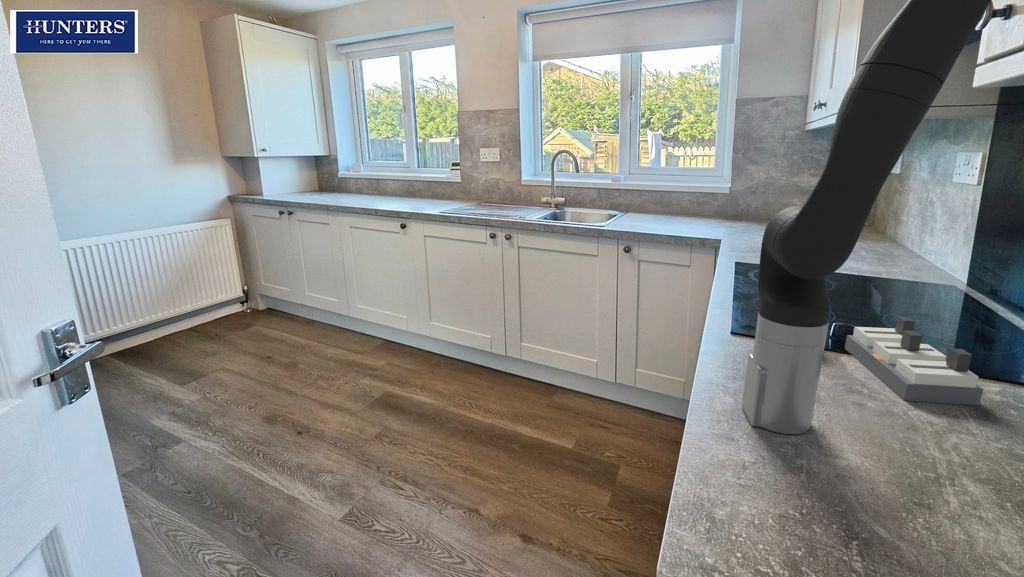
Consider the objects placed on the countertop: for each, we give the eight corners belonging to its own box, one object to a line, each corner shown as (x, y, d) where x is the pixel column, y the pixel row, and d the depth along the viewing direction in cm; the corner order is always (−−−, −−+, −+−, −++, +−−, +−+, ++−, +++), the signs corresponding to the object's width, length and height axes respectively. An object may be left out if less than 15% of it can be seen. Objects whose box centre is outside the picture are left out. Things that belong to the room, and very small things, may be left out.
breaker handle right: (955, 370, 82) (959, 354, 81) (945, 364, 84) (950, 348, 83) (967, 371, 81) (972, 354, 81) (958, 365, 84) (962, 349, 83)
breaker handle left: (901, 335, 97) (904, 320, 96) (894, 330, 99) (897, 316, 98) (911, 335, 97) (915, 321, 96) (904, 331, 99) (908, 317, 98)
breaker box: (903, 400, 83) (909, 372, 82) (844, 348, 104) (848, 325, 102) (978, 405, 81) (986, 377, 79) (903, 351, 102) (908, 328, 100)
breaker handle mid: (907, 350, 90) (910, 335, 89) (900, 345, 92) (903, 330, 91) (918, 351, 90) (922, 335, 89) (911, 345, 92) (914, 330, 91)
